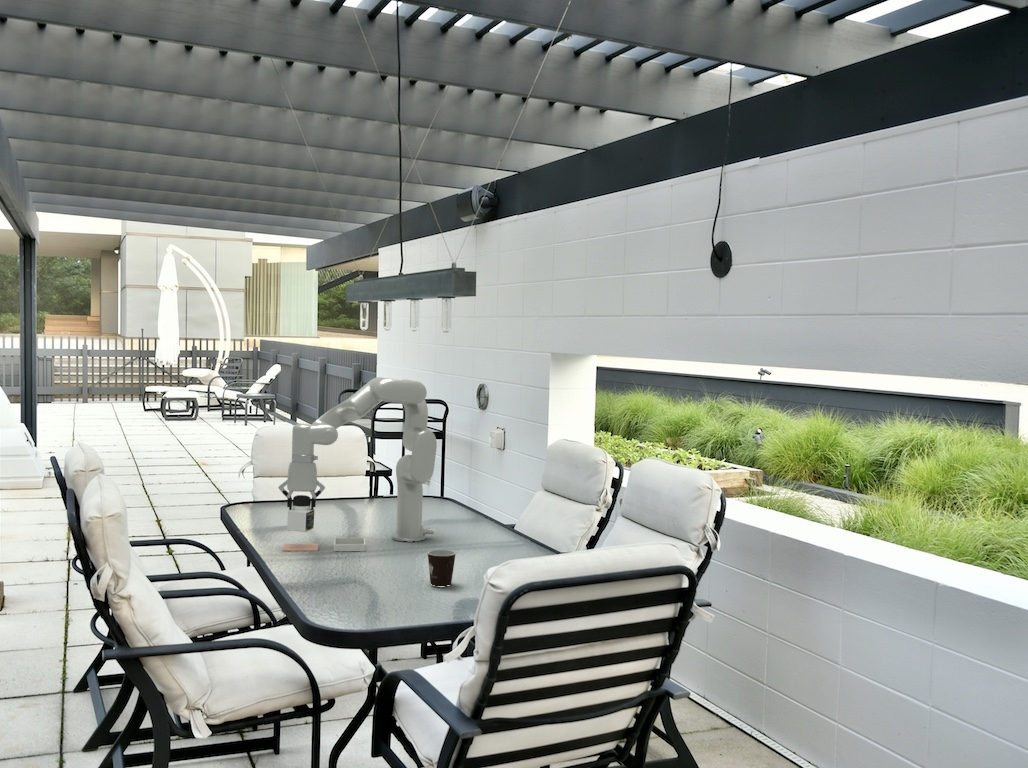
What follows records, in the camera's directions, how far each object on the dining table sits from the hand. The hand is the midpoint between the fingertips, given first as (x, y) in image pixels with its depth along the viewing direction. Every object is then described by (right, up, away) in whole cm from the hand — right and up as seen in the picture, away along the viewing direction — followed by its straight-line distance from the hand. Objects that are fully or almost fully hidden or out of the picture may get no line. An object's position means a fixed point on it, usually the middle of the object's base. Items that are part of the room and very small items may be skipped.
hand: (301, 508), depth 331 cm
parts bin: (+16, -15, +4) cm, 22 cm away
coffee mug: (+53, -18, -43) cm, 70 cm away
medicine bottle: (0, -8, 0) cm, 8 cm away
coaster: (0, -14, +1) cm, 14 cm away
